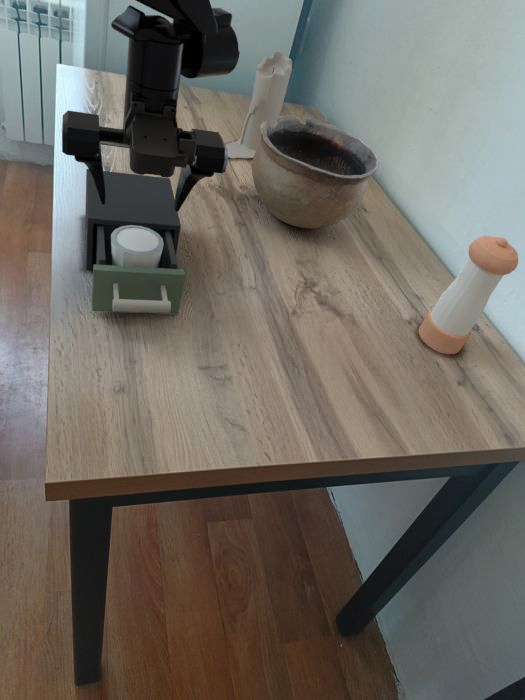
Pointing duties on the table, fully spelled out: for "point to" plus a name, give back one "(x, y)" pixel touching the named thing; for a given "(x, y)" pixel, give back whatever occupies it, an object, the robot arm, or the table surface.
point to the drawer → (136, 279)
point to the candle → (263, 103)
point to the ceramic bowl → (311, 171)
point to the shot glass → (136, 247)
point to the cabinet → (129, 206)
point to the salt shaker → (468, 294)
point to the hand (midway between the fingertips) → (140, 206)
